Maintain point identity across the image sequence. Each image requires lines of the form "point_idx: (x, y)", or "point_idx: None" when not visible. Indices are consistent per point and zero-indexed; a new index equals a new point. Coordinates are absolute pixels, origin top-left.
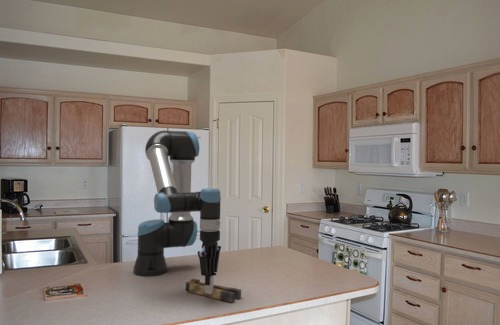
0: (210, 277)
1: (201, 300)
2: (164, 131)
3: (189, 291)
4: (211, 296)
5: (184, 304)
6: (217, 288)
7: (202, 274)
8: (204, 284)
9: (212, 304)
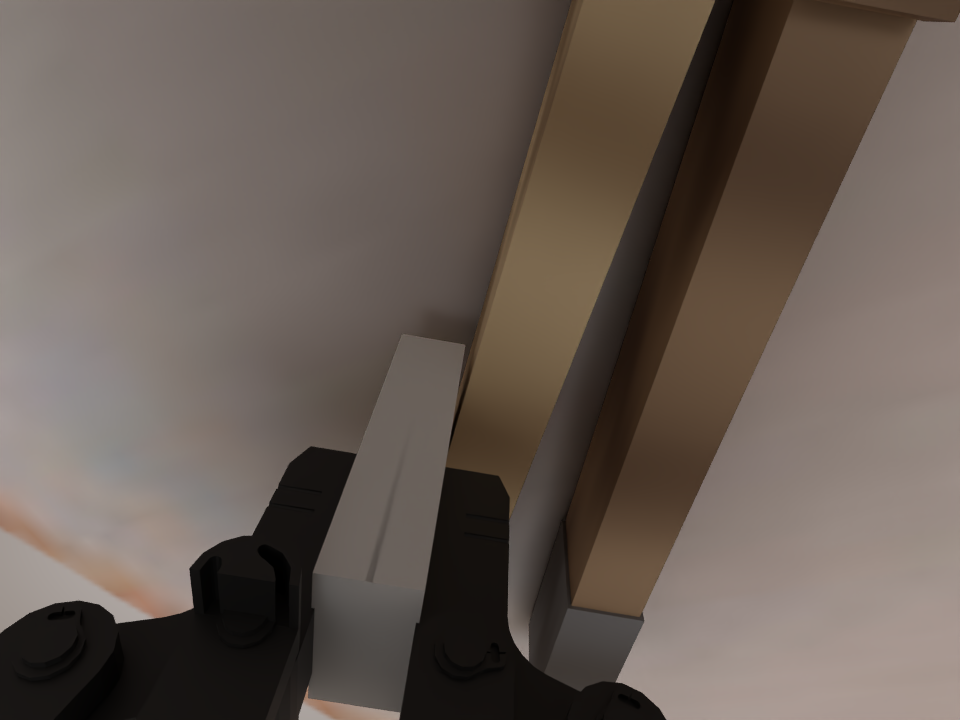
0: (317, 658)
1: (336, 272)
2: None
3: None
4: (460, 385)
5: (55, 93)
6: (615, 469)
7: (12, 663)
8: (726, 223)
9: (282, 441)
